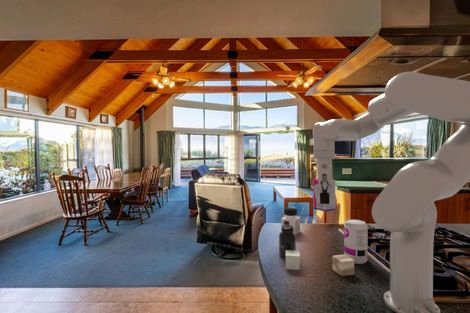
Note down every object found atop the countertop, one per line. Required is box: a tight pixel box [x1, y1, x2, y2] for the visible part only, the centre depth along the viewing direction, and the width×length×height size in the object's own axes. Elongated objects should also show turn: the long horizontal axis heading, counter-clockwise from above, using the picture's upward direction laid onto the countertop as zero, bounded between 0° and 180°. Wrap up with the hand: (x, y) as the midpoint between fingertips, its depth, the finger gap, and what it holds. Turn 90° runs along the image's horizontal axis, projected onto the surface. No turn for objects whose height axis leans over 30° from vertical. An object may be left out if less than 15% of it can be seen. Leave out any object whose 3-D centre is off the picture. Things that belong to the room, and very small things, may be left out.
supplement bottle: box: [278, 225, 297, 259], centre depth 102 cm, size 7×7×12 cm
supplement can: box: [343, 218, 368, 265], centre depth 97 cm, size 8×8×15 cm
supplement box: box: [313, 178, 336, 212], centre depth 94 cm, size 6×6×12 cm
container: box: [280, 206, 301, 236], centre depth 130 cm, size 8×8×13 cm
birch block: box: [332, 253, 355, 277], centre depth 88 cm, size 5×5×5 cm
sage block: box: [285, 250, 301, 271], centre depth 92 cm, size 5×5×5 cm
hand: (324, 201), depth 94 cm, fingers closed on supplement box, 8 cm apart
